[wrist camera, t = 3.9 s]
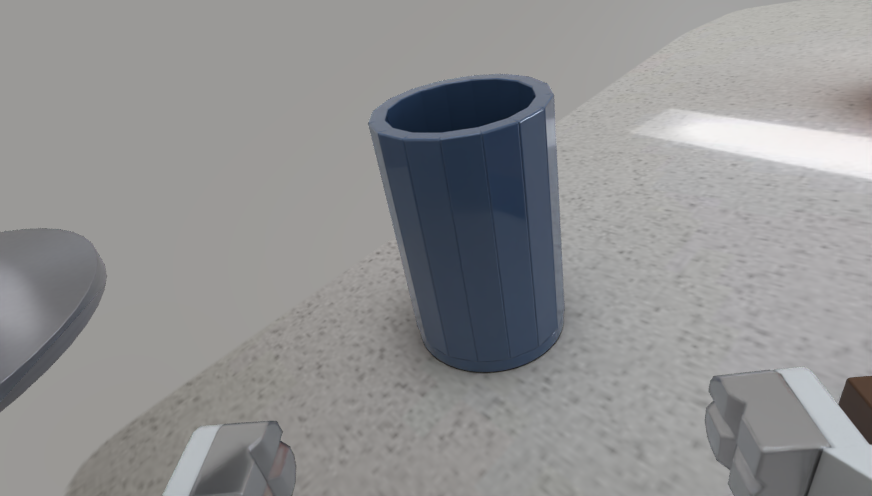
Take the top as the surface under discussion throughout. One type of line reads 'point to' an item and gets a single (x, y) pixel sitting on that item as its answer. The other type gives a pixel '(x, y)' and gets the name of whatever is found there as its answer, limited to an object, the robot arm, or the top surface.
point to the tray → (859, 404)
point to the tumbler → (476, 215)
